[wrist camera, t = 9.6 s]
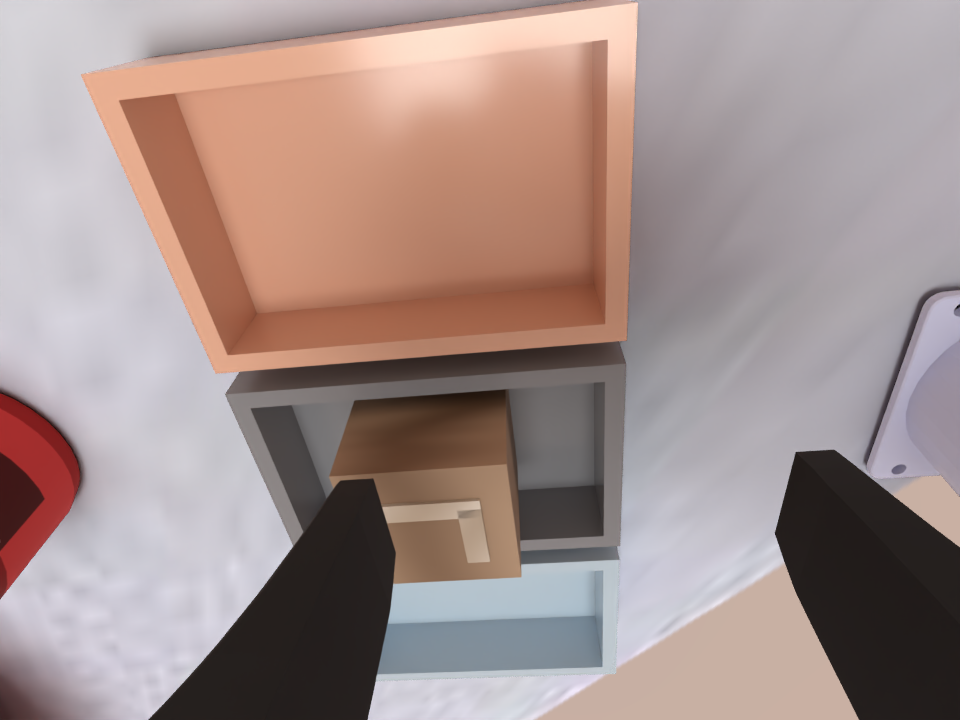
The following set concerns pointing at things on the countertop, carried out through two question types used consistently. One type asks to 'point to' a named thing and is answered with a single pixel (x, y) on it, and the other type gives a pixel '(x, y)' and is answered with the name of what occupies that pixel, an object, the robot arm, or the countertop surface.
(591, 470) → the dish charcoal
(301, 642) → the robot arm
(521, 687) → the countertop surface
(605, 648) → the dish blue
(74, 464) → the canned food
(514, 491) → the letter cube
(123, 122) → the dish terracotta
